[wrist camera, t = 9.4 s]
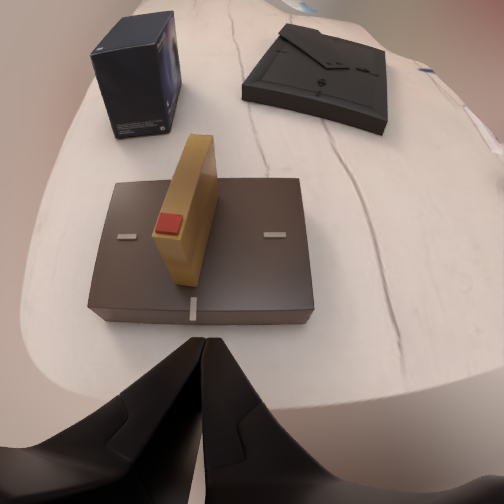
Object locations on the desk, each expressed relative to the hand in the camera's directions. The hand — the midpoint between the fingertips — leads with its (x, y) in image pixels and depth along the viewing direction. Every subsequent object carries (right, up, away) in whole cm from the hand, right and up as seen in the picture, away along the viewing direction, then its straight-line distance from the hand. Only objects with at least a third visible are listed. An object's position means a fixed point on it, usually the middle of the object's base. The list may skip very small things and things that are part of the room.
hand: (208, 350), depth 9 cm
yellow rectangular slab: (-2, +4, +12) cm, 12 cm away
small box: (-10, +19, +23) cm, 32 cm away
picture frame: (+11, +26, +28) cm, 39 cm away
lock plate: (-2, +2, +14) cm, 15 cm away
